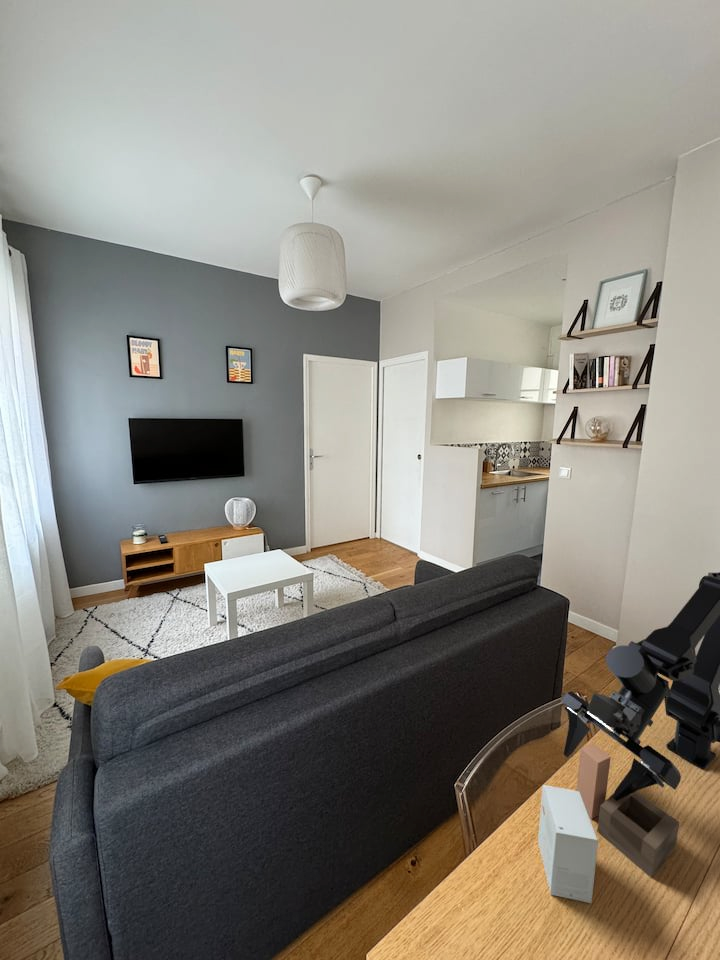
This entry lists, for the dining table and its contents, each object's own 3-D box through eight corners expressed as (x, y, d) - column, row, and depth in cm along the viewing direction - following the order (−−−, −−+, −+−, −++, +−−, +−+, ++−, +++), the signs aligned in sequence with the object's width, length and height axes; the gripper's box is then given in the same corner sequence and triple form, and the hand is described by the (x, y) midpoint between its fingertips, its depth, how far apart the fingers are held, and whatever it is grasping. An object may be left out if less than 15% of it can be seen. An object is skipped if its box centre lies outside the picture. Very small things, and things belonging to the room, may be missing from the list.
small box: (592, 905, 57) (599, 842, 55) (549, 895, 58) (556, 833, 56) (574, 847, 65) (580, 790, 63) (536, 839, 66) (542, 783, 64)
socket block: (621, 808, 71) (625, 783, 71) (675, 849, 65) (679, 822, 64) (597, 831, 67) (600, 805, 66) (651, 877, 60) (655, 849, 60)
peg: (587, 796, 73) (593, 743, 72) (603, 812, 70) (610, 756, 69) (574, 803, 72) (580, 748, 70) (591, 819, 69) (598, 763, 68)
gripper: (571, 651, 78) (524, 719, 75) (680, 716, 61) (624, 807, 58) (595, 679, 82) (551, 744, 79) (702, 747, 65) (651, 832, 63)
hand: (588, 776), depth 70 cm, fingers open, 9 cm apart
